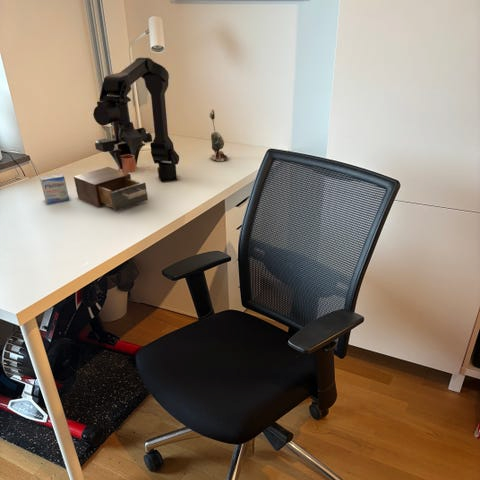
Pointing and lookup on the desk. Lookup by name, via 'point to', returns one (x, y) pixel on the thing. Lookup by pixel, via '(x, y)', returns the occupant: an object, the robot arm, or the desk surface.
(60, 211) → the desk surface
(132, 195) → the drawer
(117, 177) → the cabinet
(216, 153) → the plant with pod
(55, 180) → the medicine box
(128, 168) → the cup
